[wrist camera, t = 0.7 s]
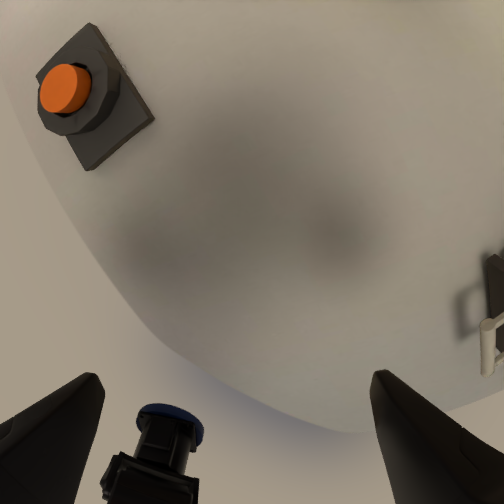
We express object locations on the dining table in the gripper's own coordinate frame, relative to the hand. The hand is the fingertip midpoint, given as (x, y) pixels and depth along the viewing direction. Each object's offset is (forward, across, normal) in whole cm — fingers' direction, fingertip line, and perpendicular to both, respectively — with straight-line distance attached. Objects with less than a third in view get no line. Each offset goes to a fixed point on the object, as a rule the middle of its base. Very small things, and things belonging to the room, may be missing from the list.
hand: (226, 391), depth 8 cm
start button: (+11, +10, -12) cm, 19 cm away
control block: (+13, +10, -12) cm, 21 cm away
